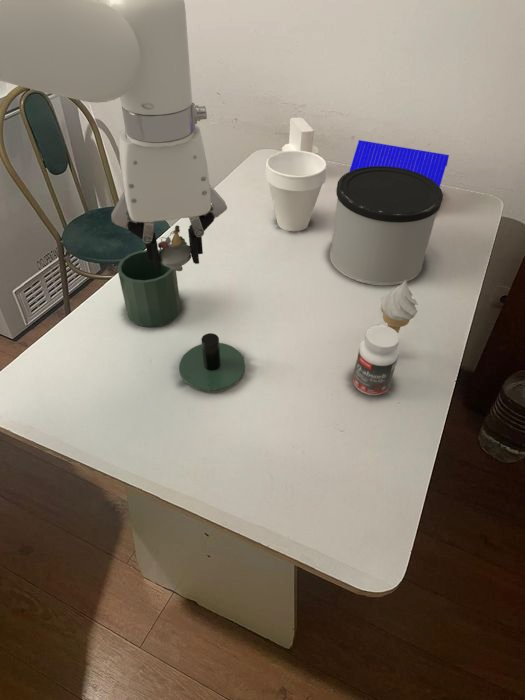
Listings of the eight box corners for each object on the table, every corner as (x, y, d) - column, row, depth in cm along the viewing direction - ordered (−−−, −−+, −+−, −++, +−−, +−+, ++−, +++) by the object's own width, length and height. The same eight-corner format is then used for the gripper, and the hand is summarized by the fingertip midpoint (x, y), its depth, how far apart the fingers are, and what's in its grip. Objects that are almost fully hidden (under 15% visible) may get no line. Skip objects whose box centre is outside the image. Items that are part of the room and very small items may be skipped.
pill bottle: (348, 390, 78) (357, 342, 71) (357, 365, 82) (366, 318, 75) (385, 401, 76) (398, 353, 69) (393, 375, 80) (406, 328, 73)
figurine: (181, 278, 67) (177, 238, 63) (152, 271, 68) (145, 231, 64) (199, 257, 71) (196, 218, 66) (171, 250, 72) (166, 211, 67)
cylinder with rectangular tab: (321, 178, 128) (326, 129, 120) (287, 182, 126) (289, 133, 118) (309, 163, 134) (313, 115, 126) (276, 167, 132) (278, 119, 124)
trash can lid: (185, 400, 76) (181, 369, 71) (175, 353, 83) (170, 322, 78) (252, 386, 78) (252, 356, 74) (236, 342, 85) (235, 311, 81)
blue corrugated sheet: (431, 216, 115) (445, 166, 107) (345, 199, 121) (352, 150, 112) (439, 192, 123) (452, 144, 115) (358, 177, 129) (365, 130, 120)
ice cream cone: (365, 361, 82) (382, 286, 72) (373, 339, 86) (390, 265, 76) (400, 371, 81) (422, 295, 70) (407, 348, 85) (428, 273, 74)
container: (321, 234, 109) (328, 166, 99) (407, 231, 111) (423, 163, 100) (338, 288, 96) (349, 216, 85) (436, 284, 97) (458, 212, 87)
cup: (276, 204, 118) (278, 146, 109) (327, 215, 115) (334, 155, 106) (256, 231, 110) (256, 170, 101) (311, 243, 107) (316, 181, 97)
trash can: (130, 331, 87) (119, 286, 80) (125, 298, 93) (115, 254, 86) (184, 322, 89) (178, 277, 82) (176, 290, 95) (170, 246, 88)
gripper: (227, 103, 61) (231, 238, 73) (79, 114, 57) (110, 253, 70) (242, 127, 55) (243, 268, 68) (79, 141, 52) (113, 286, 65)
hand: (175, 259), depth 69 cm, fingers closed on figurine, 4 cm apart
